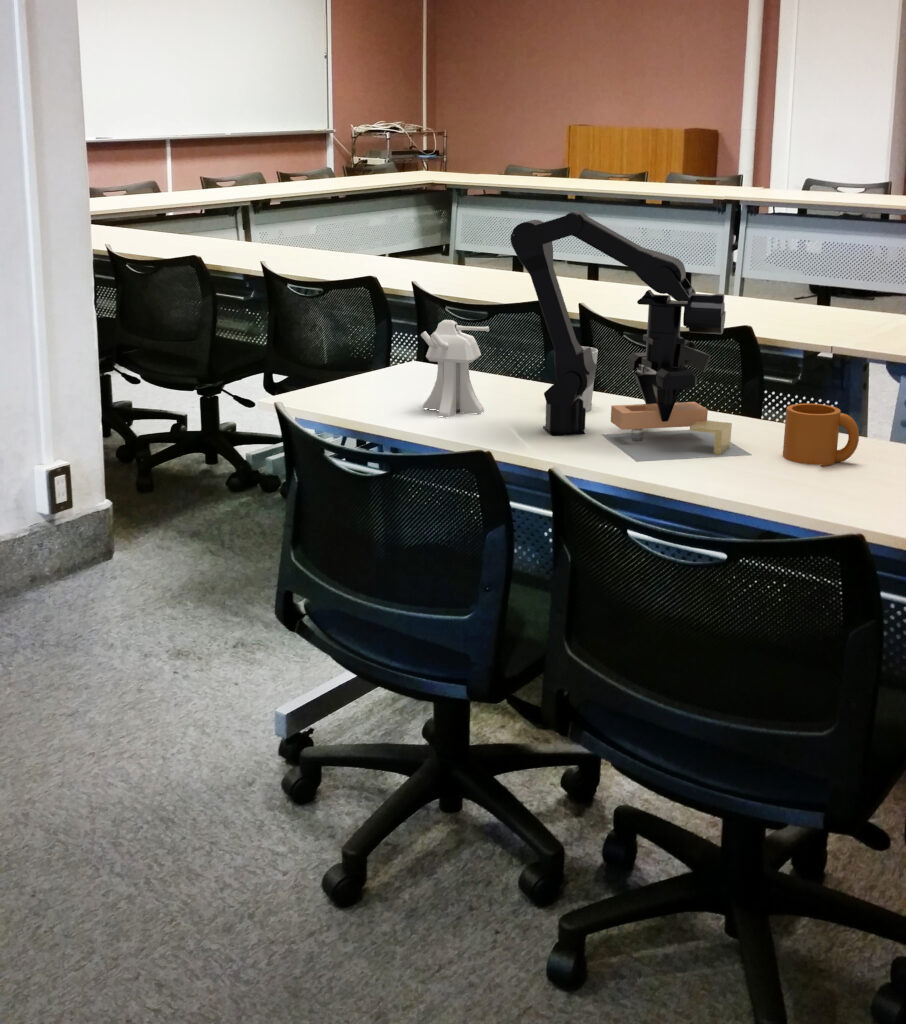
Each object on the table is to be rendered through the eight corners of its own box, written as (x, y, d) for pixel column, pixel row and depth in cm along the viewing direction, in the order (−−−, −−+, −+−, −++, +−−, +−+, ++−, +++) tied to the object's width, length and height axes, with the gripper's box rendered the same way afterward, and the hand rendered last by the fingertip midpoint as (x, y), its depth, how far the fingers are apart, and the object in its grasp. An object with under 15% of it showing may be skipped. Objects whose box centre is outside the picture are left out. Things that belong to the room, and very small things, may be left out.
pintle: (633, 441, 214) (634, 425, 213) (629, 438, 216) (630, 422, 215) (644, 440, 215) (644, 424, 214) (640, 438, 216) (640, 422, 215)
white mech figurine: (478, 420, 231) (479, 327, 225) (414, 415, 235) (413, 323, 229) (496, 407, 241) (497, 318, 236) (434, 402, 245) (434, 314, 240)
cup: (593, 414, 235) (596, 354, 232) (553, 412, 237) (555, 352, 233) (597, 405, 243) (599, 346, 239) (558, 403, 244) (560, 345, 241)
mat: (636, 463, 202) (636, 461, 202) (601, 436, 219) (601, 434, 219) (751, 457, 206) (752, 454, 206) (708, 430, 223) (708, 428, 223)
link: (621, 429, 211) (622, 413, 210) (610, 421, 216) (611, 405, 216) (706, 425, 214) (707, 409, 213) (693, 417, 220) (694, 401, 219)
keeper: (688, 451, 208) (689, 426, 207) (698, 443, 213) (700, 419, 212) (720, 455, 206) (722, 430, 204) (729, 447, 211) (731, 423, 209)
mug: (846, 473, 197) (851, 420, 194) (775, 462, 203) (778, 411, 201) (861, 459, 204) (866, 408, 201) (792, 450, 211) (796, 400, 208)
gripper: (728, 338, 203) (721, 427, 208) (686, 320, 220) (680, 403, 225) (666, 340, 201) (661, 430, 206) (628, 322, 218) (624, 406, 223)
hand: (658, 417), depth 215 cm, fingers closed on link, 6 cm apart
